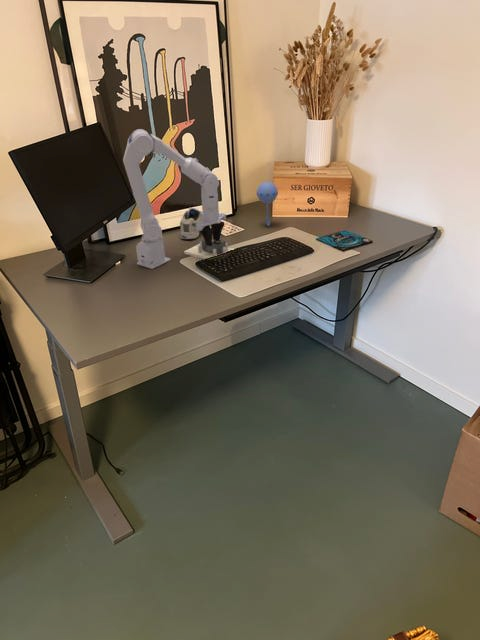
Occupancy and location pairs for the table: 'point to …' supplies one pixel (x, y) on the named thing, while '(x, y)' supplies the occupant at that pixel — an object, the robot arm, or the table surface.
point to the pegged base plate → (198, 252)
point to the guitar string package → (344, 240)
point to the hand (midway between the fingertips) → (212, 243)
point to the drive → (214, 246)
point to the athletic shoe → (190, 224)
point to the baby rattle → (267, 195)
